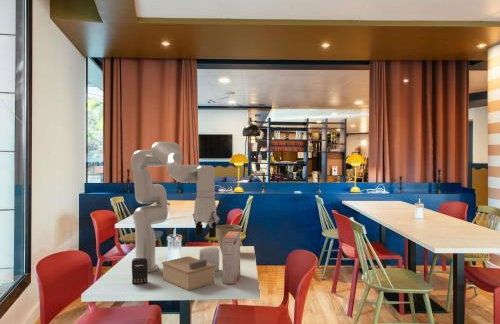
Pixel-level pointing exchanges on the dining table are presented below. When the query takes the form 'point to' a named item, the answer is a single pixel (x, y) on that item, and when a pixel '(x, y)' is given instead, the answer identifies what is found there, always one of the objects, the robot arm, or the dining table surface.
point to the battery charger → (139, 270)
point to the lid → (188, 264)
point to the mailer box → (188, 278)
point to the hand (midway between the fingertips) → (205, 235)
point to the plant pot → (225, 232)
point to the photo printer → (210, 256)
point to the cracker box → (231, 257)
